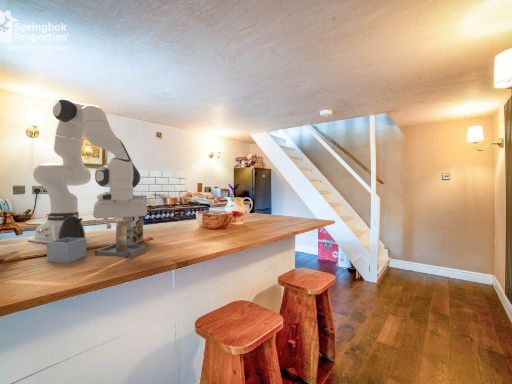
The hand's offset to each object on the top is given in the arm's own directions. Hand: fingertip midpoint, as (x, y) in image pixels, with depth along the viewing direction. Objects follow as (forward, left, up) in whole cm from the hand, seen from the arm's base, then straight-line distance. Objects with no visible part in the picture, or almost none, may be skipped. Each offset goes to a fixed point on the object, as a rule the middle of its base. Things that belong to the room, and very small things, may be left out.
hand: (121, 227), depth 105 cm
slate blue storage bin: (-13, -13, -11) cm, 21 cm away
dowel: (0, 0, -10) cm, 10 cm away
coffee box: (-6, +18, -11) cm, 22 cm away
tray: (0, 0, -11) cm, 11 cm away
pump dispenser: (-24, +1, -11) cm, 26 cm away
